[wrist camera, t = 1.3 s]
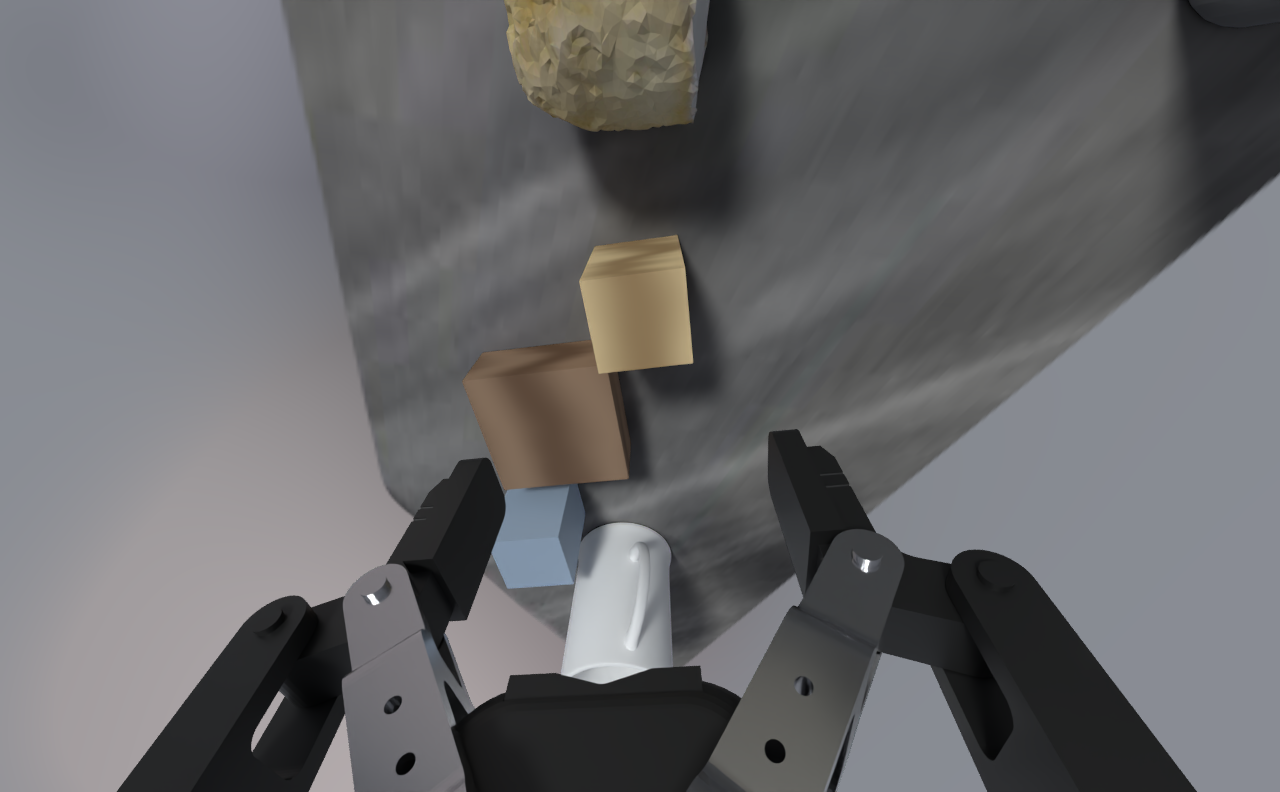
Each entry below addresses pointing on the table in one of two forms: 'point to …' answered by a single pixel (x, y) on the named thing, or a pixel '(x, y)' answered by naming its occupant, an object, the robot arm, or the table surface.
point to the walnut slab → (550, 415)
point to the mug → (620, 605)
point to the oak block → (637, 305)
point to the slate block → (540, 536)
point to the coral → (610, 59)
